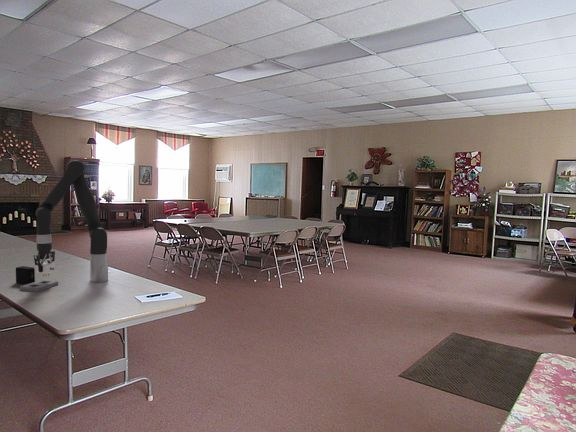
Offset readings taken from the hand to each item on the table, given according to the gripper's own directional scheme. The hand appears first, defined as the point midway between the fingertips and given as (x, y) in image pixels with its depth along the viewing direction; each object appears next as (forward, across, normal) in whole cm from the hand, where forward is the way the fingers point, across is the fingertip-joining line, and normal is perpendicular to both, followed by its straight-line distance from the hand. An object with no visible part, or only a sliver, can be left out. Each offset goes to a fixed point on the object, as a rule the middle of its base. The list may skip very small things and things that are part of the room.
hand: (45, 270), depth 237 cm
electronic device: (+9, +1, +14) cm, 17 cm away
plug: (+3, 0, 0) cm, 3 cm away
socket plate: (+9, -4, 0) cm, 10 cm away
